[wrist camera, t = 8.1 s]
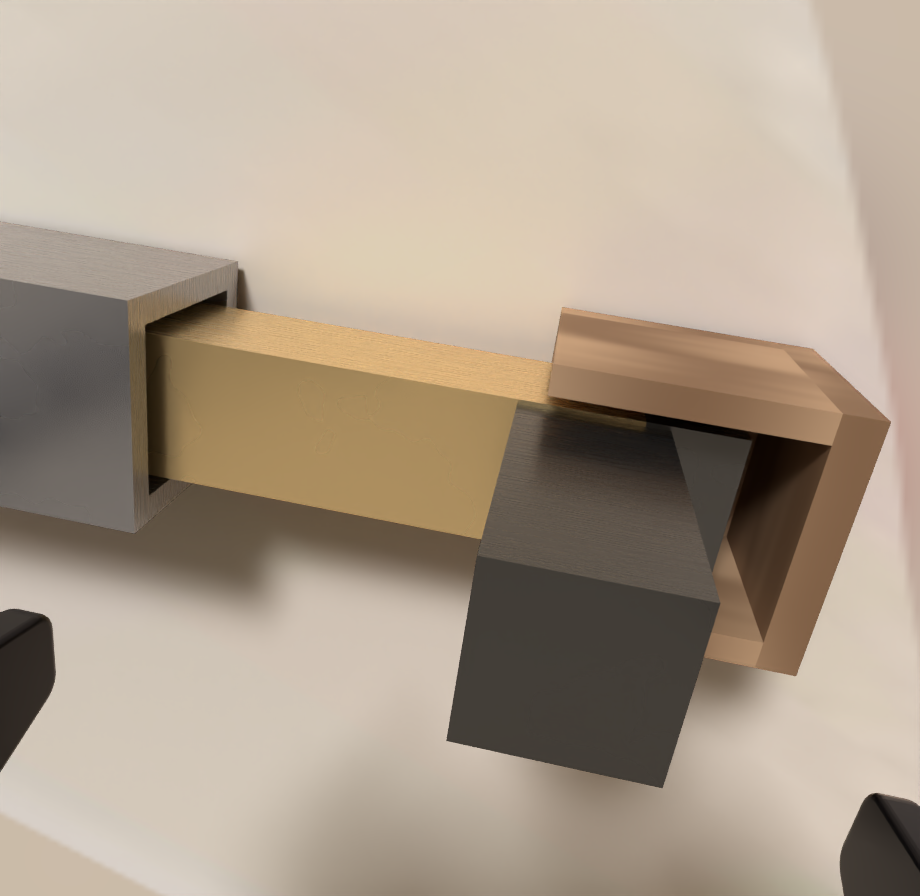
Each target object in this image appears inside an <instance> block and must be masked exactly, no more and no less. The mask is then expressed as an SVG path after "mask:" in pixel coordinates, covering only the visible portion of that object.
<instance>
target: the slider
mask: <svg viewBox="0 0 920 896" xmlns="http://www.w3.org/2000/svg"><path fill="white" fill-rule="evenodd" d="M145 346H146V391H147V436H148V475H153V476H158V477H163V478H168V479H173V480H179V481H184V482H189V483H194V484H199V485H204V486H209V487H215V488H220V489H225V490H230V491H235V492H240V493H245V494H250V495H256V496H261V497H266V498H271V499H276V500H281V501H286V502H292V503H297V504H302V505H307V506H312V507H317V508H322V509H327V510H333V511H338V512H343V513H348V514H353V515H358V516H363V517H369V518H374V519H379V520H384V521H389V522H394V523H399V524H404V525H410V526H415V527H420V528H425V529H430V530H435V531H440V532H446V533H451V534H456V535H461V536H466V537H471V538H476V539H481V543H480V546H479V550H478V554H477V559H476V565H475V571H474V577H473V583H472V589H471V595H470V601H469V607H468V613H467V620H466V626H465V632H464V638H463V644H462V650H461V656H460V662H459V668H458V674H457V680H456V686H455V692H454V698H453V704H452V710H451V716H450V722H449V728H448V734H447V740H446V741H449V742H454V743H459V744H463V745H468V746H472V747H477V748H481V749H486V750H491V751H495V752H500V753H504V754H509V755H513V756H518V757H523V758H527V759H532V760H536V761H541V762H545V763H550V764H554V765H559V766H564V767H568V768H573V769H577V770H582V771H586V772H591V773H596V774H600V775H605V776H609V777H614V778H618V779H623V780H628V781H632V782H637V783H641V784H646V785H650V786H655V787H659V788H663V785H664V782H665V779H666V775H667V772H668V769H669V766H670V763H671V760H672V756H673V753H674V750H675V747H676V744H677V740H678V737H679V734H680V731H681V728H682V725H683V721H684V718H685V715H686V712H687V709H688V705H689V702H690V699H691V696H692V693H693V690H694V686H695V683H696V680H697V677H698V674H699V670H700V667H701V664H702V661H703V658H704V654H705V651H706V648H707V645H708V642H709V639H710V635H711V632H712V629H713V626H714V623H715V619H716V616H717V613H718V610H719V607H720V604H721V603H720V600H719V596H718V593H717V589H716V586H715V582H714V579H713V575H712V572H713V569H714V565H715V562H716V559H717V555H718V552H719V549H720V546H721V542H722V539H723V536H724V532H725V529H726V526H727V523H728V519H729V516H730V513H731V509H732V506H733V503H734V499H735V496H736V493H737V490H738V486H739V483H740V480H741V476H742V473H743V470H744V467H745V463H746V460H747V457H748V453H749V450H750V447H751V444H752V439H751V438H750V436H749V434H748V432H747V431H745V430H739V429H734V428H728V427H722V426H717V425H711V424H705V423H700V422H694V421H688V420H683V419H677V418H671V417H666V416H660V415H654V414H649V413H643V412H638V411H632V410H626V409H621V408H615V407H609V406H604V405H598V404H592V403H587V402H581V401H575V400H570V399H564V398H558V397H553V396H548V390H549V383H550V377H551V370H552V364H553V363H549V362H543V361H537V360H531V359H526V358H520V357H514V356H508V355H502V354H497V353H491V352H485V351H479V350H474V349H468V348H462V347H456V346H450V345H445V344H439V343H433V342H427V341H422V340H416V339H410V338H404V337H398V336H393V335H387V334H381V333H375V332H370V331H364V330H358V329H352V328H346V327H341V326H335V325H329V324H323V323H318V322H312V321H306V320H300V319H294V318H289V317H283V316H277V315H271V314H266V313H260V312H254V311H248V310H242V309H237V308H231V307H225V306H219V305H214V304H208V303H202V302H198V303H195V304H193V305H191V306H188V307H186V308H183V309H181V310H179V311H176V312H174V313H172V314H169V315H167V316H165V317H162V318H160V319H157V320H155V321H153V322H150V323H148V324H146V325H145Z"/></svg>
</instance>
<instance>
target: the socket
mask: <svg viewBox="0 0 920 896" xmlns="http://www.w3.org/2000/svg"><path fill="white" fill-rule="evenodd" d="M552 363H553V364H552V370H551V377H550V383H549V390H548V396H553V397H558V398H564V399H570V400H575V401H581V402H587V403H592V404H598V405H604V406H609V407H615V408H621V409H626V410H632V411H638V412H643V413H649V414H654V415H660V416H666V417H671V418H677V419H683V420H688V421H694V422H700V423H705V424H711V425H717V426H722V427H728V428H734V429H739V430H745V431H747V432H748V434H749V436H750V438H751V439H752V444H751V447H750V450H749V453H748V457H747V460H746V463H745V467H744V470H743V473H742V476H741V480H740V483H739V486H738V490H737V493H736V496H735V499H734V503H733V506H732V509H731V513H730V516H729V519H728V523H727V526H726V529H725V532H724V536H723V539H722V542H721V546H720V549H719V552H718V555H717V559H716V562H715V565H714V569H713V572H712V575H713V579H714V582H715V586H716V589H717V593H718V596H719V600H720V603H721V604H720V607H719V610H718V613H717V616H716V619H715V623H714V626H713V629H712V632H711V635H710V639H709V642H708V645H707V648H706V651H705V654H704V658H709V659H714V660H719V661H724V662H729V663H734V664H739V665H744V666H748V667H753V668H758V669H763V670H768V671H773V672H778V673H783V674H788V675H793V676H796V675H797V672H798V669H799V667H800V664H801V661H802V659H803V656H804V653H805V651H806V648H807V645H808V643H809V640H810V637H811V635H812V632H813V629H814V627H815V624H816V621H817V619H818V616H819V613H820V611H821V608H822V605H823V603H824V600H825V597H826V595H827V592H828V589H829V587H830V584H831V581H832V579H833V576H834V573H835V571H836V568H837V565H838V563H839V560H840V557H841V555H842V552H843V549H844V547H845V544H846V541H847V539H848V536H849V533H850V531H851V528H852V525H853V523H854V520H855V517H856V515H857V512H858V509H859V507H860V504H861V501H862V499H863V496H864V493H865V491H866V488H867V485H868V483H869V480H870V477H871V475H872V472H873V469H874V467H875V464H876V461H877V459H878V456H879V453H880V451H881V448H882V445H883V442H884V440H885V437H886V434H887V432H888V429H889V426H890V424H891V422H890V421H889V420H888V419H887V418H886V417H885V416H884V415H883V414H882V413H881V412H880V411H879V410H878V409H877V408H876V407H874V406H873V405H872V404H871V403H870V402H869V401H868V400H867V399H866V398H865V397H864V396H863V395H862V394H861V393H860V392H858V391H857V390H856V389H855V388H854V387H853V386H852V385H851V384H850V383H849V382H848V381H847V380H846V379H845V378H844V377H842V376H841V375H840V374H839V373H838V372H837V371H836V370H835V369H834V368H833V367H832V366H831V365H830V364H829V363H828V362H826V361H825V360H824V359H823V358H822V357H821V356H820V355H819V354H818V353H817V352H816V351H815V350H814V349H810V348H804V347H798V346H792V345H786V344H780V343H774V342H768V341H762V340H756V339H750V338H744V337H738V336H732V335H726V334H720V333H714V332H708V331H702V330H696V329H690V328H684V327H678V326H672V325H666V324H660V323H654V322H648V321H642V320H636V319H630V318H624V317H618V316H612V315H606V314H600V313H594V312H588V311H582V310H576V309H570V308H564V307H562V311H561V316H560V321H559V327H558V332H557V337H556V343H555V348H554V353H553V358H552Z"/></svg>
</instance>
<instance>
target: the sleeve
mask: <svg viewBox="0 0 920 896" xmlns="http://www.w3.org/2000/svg"><path fill="white" fill-rule="evenodd" d="M237 278H238V261H232V260H226V259H220V258H214V257H208V256H202V255H196V254H190V253H184V252H178V251H172V250H166V249H160V248H154V247H148V246H142V245H136V244H130V243H124V242H119V241H113V240H107V239H101V238H95V237H89V236H83V235H77V234H71V233H65V232H59V231H53V230H47V229H41V228H35V227H29V226H23V225H17V224H11V223H5V222H0V506H1V507H6V508H11V509H16V510H20V511H25V512H30V513H35V514H40V515H45V516H50V517H55V518H60V519H65V520H70V521H75V522H80V523H85V524H90V525H95V526H100V527H105V528H109V529H114V530H119V531H124V532H129V533H134V534H135V533H136V532H137V531H138V530H139V529H141V528H142V527H143V526H144V525H145V524H146V523H147V522H149V521H150V520H151V519H152V518H153V517H154V516H155V515H157V514H158V513H159V512H160V511H161V510H162V509H163V508H165V507H166V506H167V505H168V504H169V503H170V502H172V501H173V500H174V499H175V498H176V497H177V496H178V495H180V494H181V493H182V492H183V491H184V490H185V489H186V488H188V487H189V486H190V485H191V484H192V483H189V482H184V481H179V480H173V479H168V478H163V477H158V476H153V475H148V436H147V391H146V346H145V325H146V324H148V323H150V322H153V321H155V320H157V319H160V318H162V317H165V316H167V315H169V314H172V313H174V312H176V311H179V310H181V309H183V308H186V307H188V306H191V305H193V304H195V303H198V302H202V303H208V304H214V305H219V306H225V307H231V308H237Z"/></svg>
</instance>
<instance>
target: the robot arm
mask: <svg viewBox="0 0 920 896" xmlns="http://www.w3.org/2000/svg"><path fill="white" fill-rule="evenodd" d="M55 675H56V669H55V655H54V641H53V628H52V623H51V621H50V619H49V618H48V617H46V616H45V615H43V614H39V613H34V612H29V611H25V610H20V609H9V610H5V611H3V612H0V772H1V770H2V769H3V767H4V766H5V764H6V763H7V761H8V759H9V758H10V756H11V755H12V753H13V752H14V750H15V749H16V747H17V745H18V744H19V742H20V741H21V739H22V738H23V736H24V735H25V733H26V731H27V730H28V728H29V727H30V725H31V724H32V722H33V721H34V719H35V717H36V716H37V714H38V713H39V711H40V710H41V708H42V706H43V705H44V703H45V702H46V700H47V699H48V697H49V695H50V693H51V691H52V689H53V686H54V682H55ZM840 874H841V881H842V886H843V892H844V896H920V806H918V805H917V804H916V803H914V802H913V801H910V800H908V799H904V798H899V797H894V796H890V795H885V794H880V793H873V794H870V795H868V796H867V797H866V798H865V800H864V801H863V803H862V805H861V807H860V809H859V811H858V814H857V816H856V818H855V820H854V822H853V825H852V827H851V829H850V831H849V833H848V835H847V838H846V840H845V842H844V844H843V847H842V850H841V855H840Z"/></svg>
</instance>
